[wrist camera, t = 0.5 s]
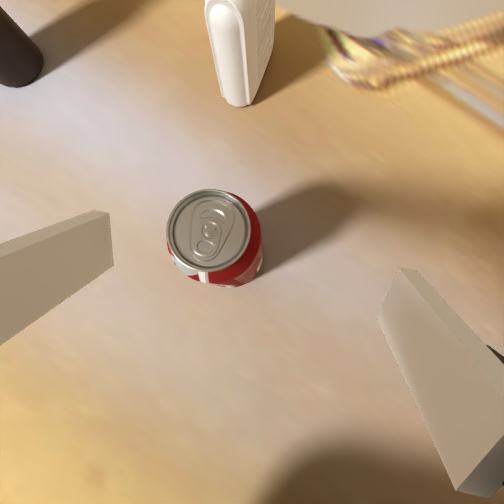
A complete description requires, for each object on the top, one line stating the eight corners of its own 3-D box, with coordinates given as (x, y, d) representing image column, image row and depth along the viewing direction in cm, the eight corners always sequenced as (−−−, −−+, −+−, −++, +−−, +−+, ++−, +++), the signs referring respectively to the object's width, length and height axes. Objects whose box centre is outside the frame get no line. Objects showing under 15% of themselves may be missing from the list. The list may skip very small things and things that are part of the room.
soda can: (268, 233, 29) (271, 191, 17) (254, 294, 28) (246, 293, 16) (210, 220, 30) (173, 170, 18) (194, 279, 29) (143, 268, 17)
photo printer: (245, 33, 33) (233, -117, 21) (278, 41, 33) (285, -108, 21) (218, 103, 32) (189, -15, 20) (251, 112, 32) (243, -3, 19)
